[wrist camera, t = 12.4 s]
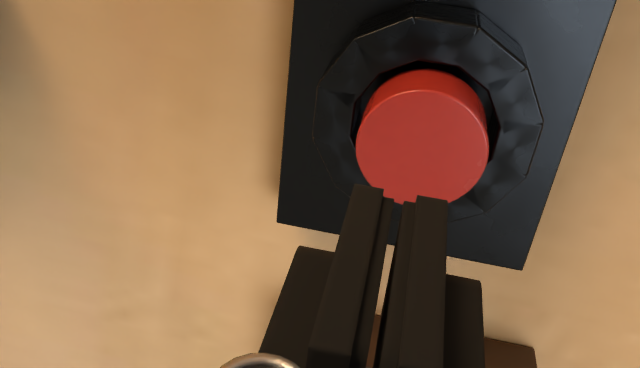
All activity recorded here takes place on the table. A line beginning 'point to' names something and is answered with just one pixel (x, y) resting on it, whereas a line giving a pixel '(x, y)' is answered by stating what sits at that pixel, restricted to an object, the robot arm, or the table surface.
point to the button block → (461, 61)
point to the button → (423, 137)
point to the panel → (500, 357)
